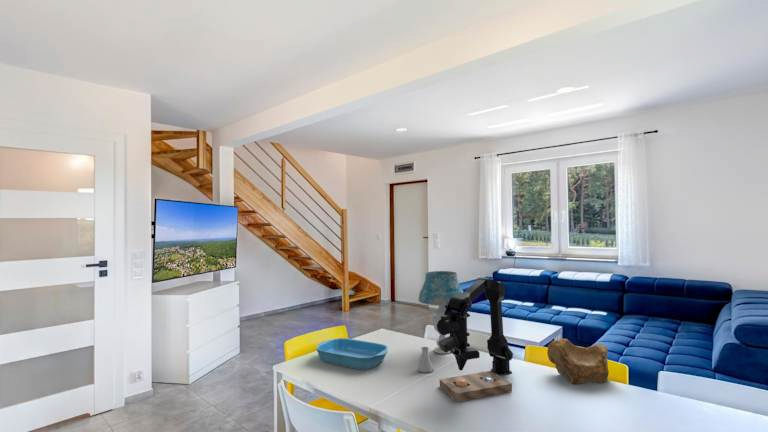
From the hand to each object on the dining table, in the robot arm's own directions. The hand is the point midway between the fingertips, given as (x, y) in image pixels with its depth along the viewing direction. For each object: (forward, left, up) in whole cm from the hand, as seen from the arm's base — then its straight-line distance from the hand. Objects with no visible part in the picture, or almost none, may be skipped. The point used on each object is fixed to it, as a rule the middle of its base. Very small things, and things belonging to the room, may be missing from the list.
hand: (460, 370), depth 148 cm
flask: (+4, -25, -9) cm, 27 cm away
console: (-6, 0, -8) cm, 10 cm away
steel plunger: (-12, 0, -8) cm, 15 cm away
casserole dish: (+32, -49, -9) cm, 59 cm away
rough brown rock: (-50, +8, -9) cm, 52 cm away
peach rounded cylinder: (0, 0, -7) cm, 7 cm away
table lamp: (-15, -45, -8) cm, 48 cm away
